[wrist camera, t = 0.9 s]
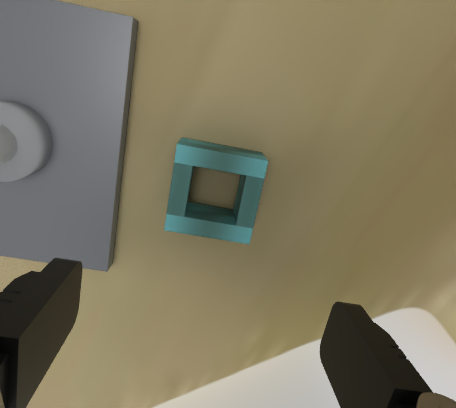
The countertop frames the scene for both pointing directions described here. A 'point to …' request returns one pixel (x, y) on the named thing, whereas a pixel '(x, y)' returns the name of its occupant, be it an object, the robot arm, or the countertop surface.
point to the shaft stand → (62, 129)
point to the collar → (210, 215)
